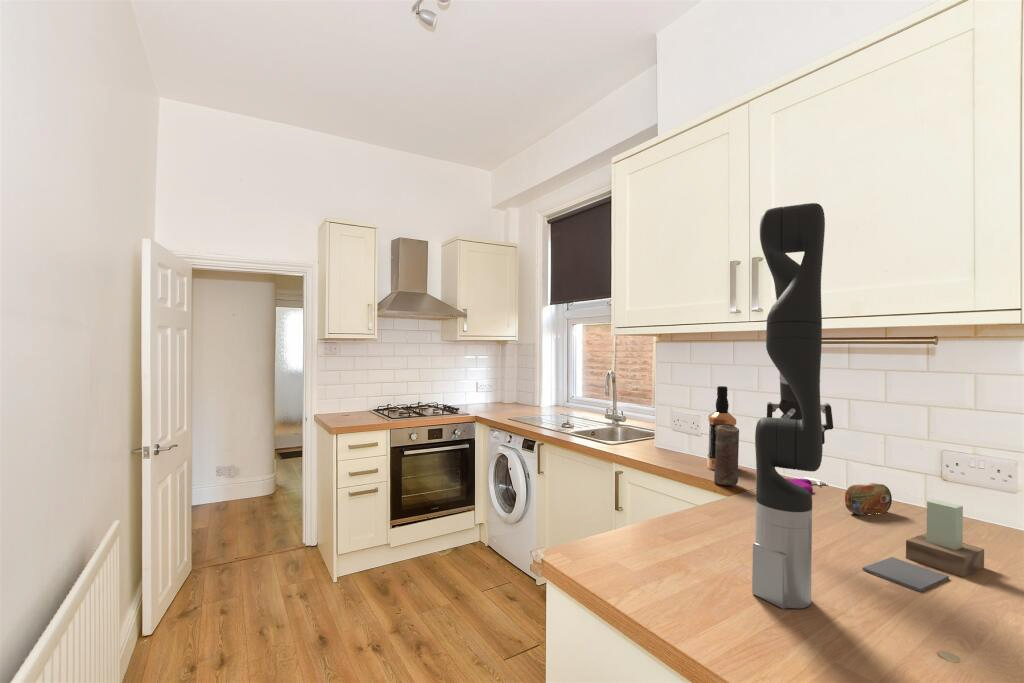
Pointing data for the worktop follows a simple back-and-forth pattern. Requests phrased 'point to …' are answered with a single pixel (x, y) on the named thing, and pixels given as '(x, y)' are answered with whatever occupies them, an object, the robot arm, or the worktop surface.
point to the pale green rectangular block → (945, 524)
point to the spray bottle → (806, 483)
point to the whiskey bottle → (718, 422)
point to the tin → (868, 499)
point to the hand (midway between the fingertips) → (799, 444)
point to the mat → (906, 574)
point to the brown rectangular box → (945, 556)
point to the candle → (726, 455)
